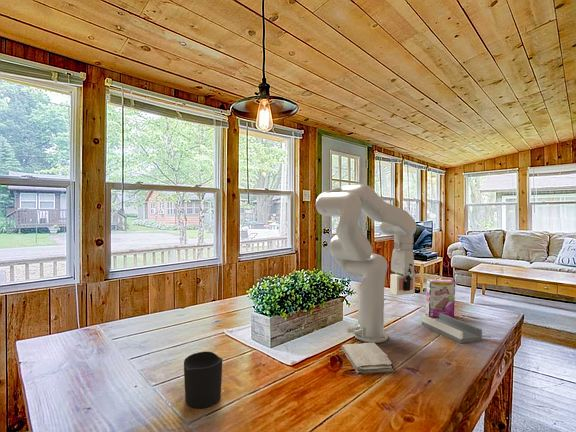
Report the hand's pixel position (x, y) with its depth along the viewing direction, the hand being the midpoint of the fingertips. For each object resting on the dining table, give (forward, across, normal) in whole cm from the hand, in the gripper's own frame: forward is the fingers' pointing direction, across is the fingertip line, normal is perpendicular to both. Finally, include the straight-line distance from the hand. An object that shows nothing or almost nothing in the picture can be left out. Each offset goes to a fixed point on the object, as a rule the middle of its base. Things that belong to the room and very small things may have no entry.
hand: (402, 288), depth 139 cm
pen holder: (+16, +33, -84) cm, 92 cm away
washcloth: (+16, +26, -33) cm, 45 cm away
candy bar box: (+14, -2, +23) cm, 27 cm away
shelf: (+14, +15, +12) cm, 24 cm away
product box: (+2, 0, 0) cm, 2 cm away
